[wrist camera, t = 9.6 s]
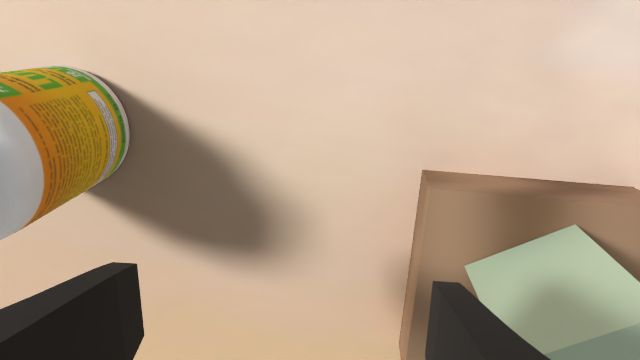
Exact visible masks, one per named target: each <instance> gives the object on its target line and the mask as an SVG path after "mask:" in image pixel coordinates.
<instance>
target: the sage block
mask: <svg viewBox="0 0 640 360" xmlns="http://www.w3.org/2000/svg"><path fill="white" fill-rule="evenodd" d="M464 267H465V269H466V271H467V274H468V276H469V278H470V280H471V283H472V285H473V287H474V290H475V292H476V294H477V296H478V299H479V301H480V302H481V303H483V304H484V305H485V306H486V307H487V308H488V309H489V310H490V311H491V312H492V313H494V314H495V315H496V316H497V317H498V318H499V319H500V320H501V321H503V322H504V323H505V324H506V325H507V326H508V327H510V328H511V329H512V330H513V331H514V332H516V333H517V334H518V335H519V336H520V337H522V338H523V339H524V340H525V341H527V342H528V343H529V344H531V345H532V346H533V347H535V348H536V349H537V350H538V351H540V352H541V353H542V354H544V355H545V356H546V357H548V358H549V359H551V360H640V282H639V281H637V280H636V279H635V278H634V277H633V276H632V275H631V274H630V273H629V272H627V271H626V270H625V269H624V268H623V267H622V266H621V265H620V264H619V263H618V262H616V261H615V260H614V259H613V258H612V257H611V256H610V255H609V254H608V253H607V252H605V251H604V250H603V249H602V248H601V247H600V246H599V245H598V244H597V243H595V242H594V241H593V240H592V239H591V238H590V237H589V236H588V235H587V234H586V233H584V232H583V231H582V230H581V229H580V228H579V227H578V226H577V225H576V224H575V225H572V226H569V227H567V228H564V229H561V230H559V231H556V232H553V233H551V234H548V235H545V236H543V237H540V238H537V239H535V240H532V241H529V242H527V243H524V244H521V245H519V246H516V247H513V248H511V249H508V250H505V251H503V252H500V253H497V254H495V255H492V256H489V257H487V258H484V259H481V260H479V261H476V262H473V263H471V264H468V265H465V266H464Z"/></svg>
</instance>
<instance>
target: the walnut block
mask: <svg viewBox="0 0 640 360" xmlns="http://www.w3.org/2000/svg"><path fill="white" fill-rule="evenodd" d="M575 224H576V225H577V226H578V227H579V228H580V229H581V230H582V231H583V232H584V233H586V234H587V235H588V236H589V237H590V238H591V239H592V240H593V241H594V242H595V243H597V244H598V245H599V246H600V247H601V248H602V249H603V250H604V251H605V252H607V253H608V254H609V255H610V256H611V257H612V258H613V259H614V260H615V261H616V262H618V263H619V264H620V265H621V266H622V267H623V268H624V269H625V270H626V271H627V272H629V273H630V274H631V275H632V276H633V277H634V278H635V279H636V280H637V281H639V282H640V191H639V190H637V189H636V188H634V187H625V186H613V185H601V184H588V183H576V182H564V181H552V180H539V179H527V178H515V177H503V176H490V175H478V174H466V173H453V172H441V171H429V170H422V176H421V184H420V191H419V198H418V206H417V213H416V221H415V228H414V236H413V243H412V250H411V258H410V265H409V273H408V280H407V288H406V295H405V302H404V310H403V317H402V325H401V332H400V339H399V347H400V355H401V360H426V359H425V349H426V339H427V330H428V321H429V311H430V302H431V293H432V283H433V281H442V282H459V283H460V284H462V285H463V286H464V287H465V288H466V289H467V290H468V291H470V292H471V293H472V294H473V295H474V296H475V297H476V298H477V299H478V296H477V294H476V292H475V290H474V287H473V285H472V283H471V280H470V278H469V276H468V274H467V271H466V269H465V267H464V266H465V265H468V264H471V263H473V262H476V261H479V260H481V259H484V258H487V257H489V256H492V255H495V254H497V253H500V252H503V251H505V250H508V249H511V248H513V247H516V246H519V245H521V244H524V243H527V242H529V241H532V240H535V239H537V238H540V237H543V236H545V235H548V234H551V233H553V232H556V231H559V230H561V229H564V228H567V227H569V226H572V225H575ZM478 300H479V299H478Z"/></svg>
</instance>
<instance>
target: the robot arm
mask: <svg viewBox="0 0 640 360" xmlns="http://www.w3.org/2000/svg"><path fill="white" fill-rule="evenodd" d="M143 337H144V328H143V318H142V309H141V299H140V289H139V280H138V270H137V264H132V263H115V262H113V263H109V264H106V265H103V266H100V267H98V268H95V269H93V270H90V271H88V272H86V273H83V274H81V275H79V276H77V277H74V278H72V279H70V280H68V281H65V282H63V283H61V284H59V285H56V286H54V287H52V288H50V289H47V290H45V291H43V292H41V293H38V294H36V295H34V296H32V297H29V298H27V299H24V300H22V301H19V302H17V303H15V304H12V305H10V306H7V307H5V308H2V309H0V360H133V358H134V356H135V354H136V352H137V350H138V348H139V345H140V343H141V341H142V339H143ZM425 359H426V360H551V359H549V358H548V357H546V356H545V355H544V354H542V353H541V352H540V351H538V350H537V349H536V348H535V347H533V346H532V345H531V344H529V343H528V342H527V341H525V340H524V339H523V338H522V337H520V336H519V335H518V334H517V333H516V332H514V331H513V330H512V329H511V328H510V327H508V326H507V325H506V324H505V323H504V322H503V321H501V320H500V319H499V318H498V317H497V316H496V315H495V314H494V313H492V312H491V311H490V310H489V309H488V308H487V307H486V306H485V305H484V304H483V303H481V302H480V301H479V300H478V299H477V298H476V297H475V296H474V295H473V294H472V293H471V292H470V291H468V290H467V289H466V288H465V287H464V286H463V285H462V284H460V283H459V282H442V281H433V283H432V293H431V302H430V311H429V321H428V330H427V339H426V349H425Z"/></svg>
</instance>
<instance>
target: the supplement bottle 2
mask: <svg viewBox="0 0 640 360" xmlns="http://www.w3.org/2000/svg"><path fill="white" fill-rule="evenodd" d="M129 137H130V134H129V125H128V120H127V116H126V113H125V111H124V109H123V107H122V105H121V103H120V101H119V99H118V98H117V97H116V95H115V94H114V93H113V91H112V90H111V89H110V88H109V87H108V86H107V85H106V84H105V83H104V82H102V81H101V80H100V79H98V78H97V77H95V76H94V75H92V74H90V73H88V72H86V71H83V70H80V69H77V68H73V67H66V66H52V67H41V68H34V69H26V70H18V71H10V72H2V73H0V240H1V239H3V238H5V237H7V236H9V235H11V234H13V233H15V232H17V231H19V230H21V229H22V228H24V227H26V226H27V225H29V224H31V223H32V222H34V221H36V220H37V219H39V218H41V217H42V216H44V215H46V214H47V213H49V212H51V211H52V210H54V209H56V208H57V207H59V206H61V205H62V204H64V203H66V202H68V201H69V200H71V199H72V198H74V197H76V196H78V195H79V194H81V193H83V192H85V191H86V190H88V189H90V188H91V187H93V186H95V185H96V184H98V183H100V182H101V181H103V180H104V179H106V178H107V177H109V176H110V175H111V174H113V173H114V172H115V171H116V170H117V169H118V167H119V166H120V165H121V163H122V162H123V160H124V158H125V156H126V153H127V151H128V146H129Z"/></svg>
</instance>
